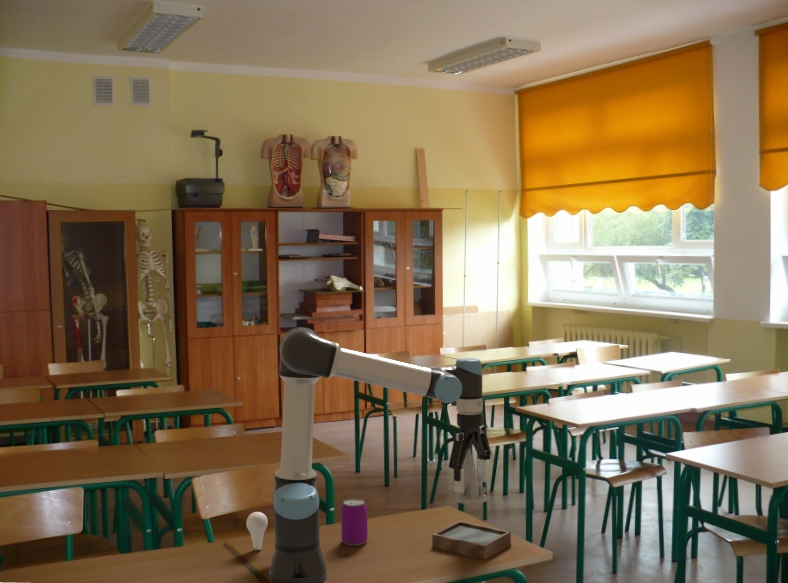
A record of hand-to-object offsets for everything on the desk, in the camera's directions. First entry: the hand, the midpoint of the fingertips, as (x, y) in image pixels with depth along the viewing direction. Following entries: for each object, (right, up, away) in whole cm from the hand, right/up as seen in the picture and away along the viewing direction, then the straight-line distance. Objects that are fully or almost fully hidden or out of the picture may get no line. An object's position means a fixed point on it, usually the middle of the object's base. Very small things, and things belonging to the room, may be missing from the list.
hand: (471, 486), depth 228 cm
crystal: (0, -4, 0) cm, 4 cm away
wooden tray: (0, -17, +1) cm, 17 cm away
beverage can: (-34, -18, +5) cm, 39 cm away
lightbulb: (-62, -19, 0) cm, 64 cm away
